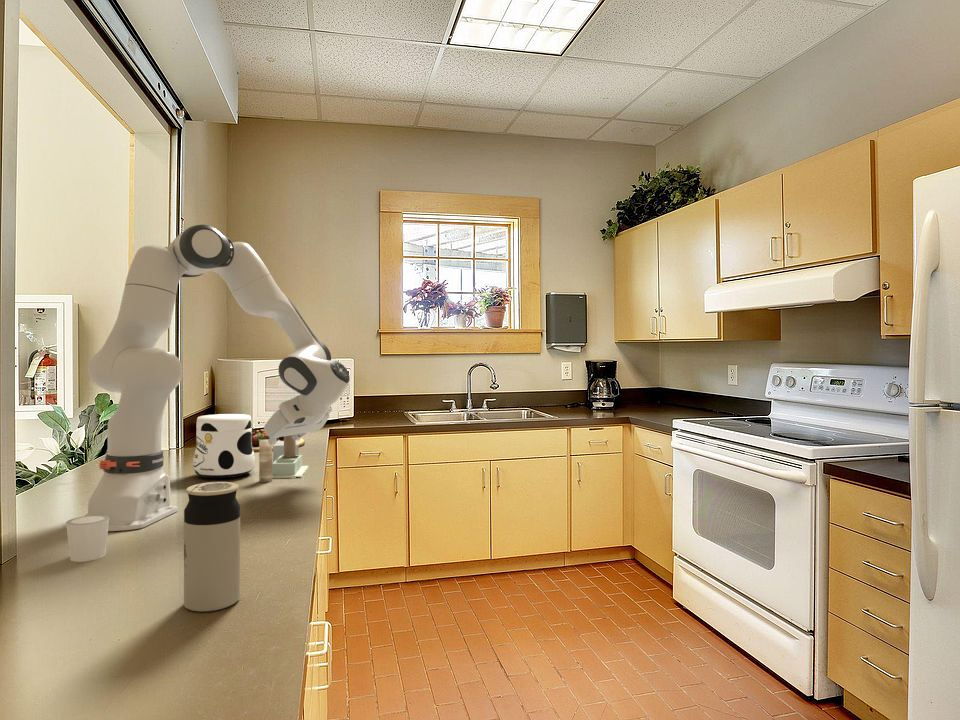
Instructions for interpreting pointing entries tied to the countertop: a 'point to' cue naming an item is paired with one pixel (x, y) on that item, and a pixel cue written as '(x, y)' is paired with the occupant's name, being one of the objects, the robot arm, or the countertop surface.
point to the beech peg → (265, 461)
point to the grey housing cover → (281, 449)
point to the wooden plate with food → (262, 436)
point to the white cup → (87, 537)
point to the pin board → (288, 461)
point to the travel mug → (211, 547)
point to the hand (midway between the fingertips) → (283, 440)
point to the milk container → (223, 446)
